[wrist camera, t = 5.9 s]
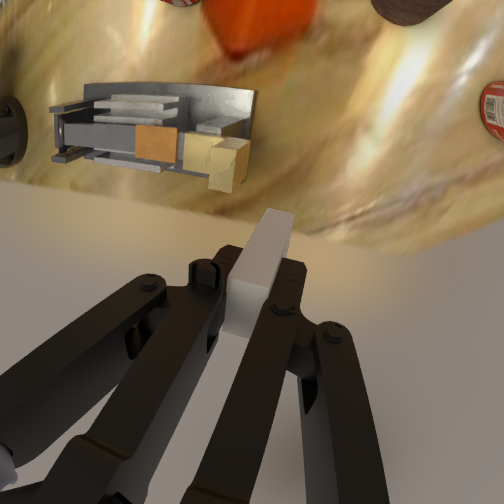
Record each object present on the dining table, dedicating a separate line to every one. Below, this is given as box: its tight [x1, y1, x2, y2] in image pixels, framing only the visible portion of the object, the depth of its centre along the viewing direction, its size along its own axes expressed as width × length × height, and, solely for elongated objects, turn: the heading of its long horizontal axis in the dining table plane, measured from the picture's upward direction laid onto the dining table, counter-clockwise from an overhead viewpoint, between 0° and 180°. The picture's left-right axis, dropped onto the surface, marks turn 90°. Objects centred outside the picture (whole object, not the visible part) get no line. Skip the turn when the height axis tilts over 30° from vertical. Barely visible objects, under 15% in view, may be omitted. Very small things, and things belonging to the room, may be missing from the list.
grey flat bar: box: [58, 113, 187, 163], centre depth 31 cm, size 20×5×1 cm, turn 82°
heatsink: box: [49, 82, 257, 184], centre depth 35 cm, size 26×12×10 cm, turn 82°
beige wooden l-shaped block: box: [183, 131, 251, 193], centre depth 27 cm, size 6×4×5 cm, turn 82°
